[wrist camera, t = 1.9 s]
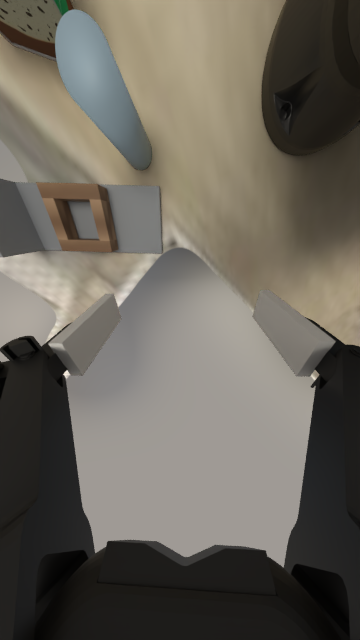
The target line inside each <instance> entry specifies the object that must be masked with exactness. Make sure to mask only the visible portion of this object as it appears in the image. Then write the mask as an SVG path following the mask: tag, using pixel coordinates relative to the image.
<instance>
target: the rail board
mask: <svg viewBox="0 0 360 640" xmlns="http://www.w3.org/2000/svg"><path fill="white" fill-rule="evenodd" d="M100 186H103V187H105V188H107V193H108V198H109V203H110V208H111V213H112V219H113V224H114V229H115V234H116V239H117V244H118V250H116V251H114V252H128V253H161V254H162V253H163V252H162V227H161V202H160V187H159V186H135V185H100ZM67 203H68V206H69V209H70V212H71V216H72V219H73V222H74V225H75V228H76V231H77V234H78V238H82V239H99V236H98V232H97V228H96V224H95V220H94V216H93V212H92V208H91V204H90V202H78V201H67ZM42 250H62V248H61V246H60V243H59V240H58V238H57V235H56V233H55V230H54V228H53V225H52V222H51V220H50V217H49V215H48V212H47V210H46V207H45V205H44V202H43V199H42V197H41V194H40V192H39V189H38V187H37V184H36V183H19V182H18V183H17V182H11V181H7V180H3V179H0V257H8V256H13V255H19V254H25V253H31V252H36V251H42Z"/></svg>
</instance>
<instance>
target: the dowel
mask: <svg viewBox="0 0 360 640" xmlns="http://www.w3.org/2000/svg"><path fill="white" fill-rule="evenodd" d="M55 52H56V60H57V64H58V68H59V72H60V75H61V78H62V80H63V83H64V85H65V87H66V89H67V91H68V92H69V94H70V96H71V97H72V98H73V100H74V101H75V102H76V103H77V104H78V105H79V106H80V108H81V109H82V110H83V111H84V112H85V113H86V114H87V115H88V117H89V118H90V119H91V120H92V121H93V122H94V123H95V124H96V126H97V127H98V128H99V129H100V130H101V131H102V132H103V134H104V135H105V136H106V137H107V138H108V139H109V140H110V141H111V143H112V144H113V145H114V146H115V147H116V148H117V149H118V150H119V152H120V153H121V154H122V155H123V156H124V157H125V158H126V159H127V161H128V162H129V163H130V164H131V165H132V166H133V167H134V168H135V169H137V170H144V169H146V168H147V167H148V166H149V164H150V162H151V159H152V148H151V144H150V142H149V139H148V137H147V135H146V132H145V130H144V128H143V125H142V123H141V120H140V118H139V116H138V113H137V111H136V109H135V106H134V104H133V102H132V99H131V97H130V94H129V92H128V90H127V87H126V85H125V83H124V80H123V78H122V76H121V73H120V71H119V68H118V66H117V64H116V61H115V59H114V57H113V54H112V52H111V50H110V47H109V45H108V42H107V40H106V38H105V36H104V34H103V32H102V30H101V29H100V27H99V26H98V24H97V23H96V22H95V21H94V20H93V18H91V17H90V16H89V15H88V14H86V13H85V12H83V11H80V10H76V9H75V10H70V11H68V12H66V13H65V14H64V15H63V16H62V17H61V19H60V21H59V23H58V26H57V30H56V37H55Z"/></svg>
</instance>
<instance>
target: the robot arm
mask: <svg viewBox="0 0 360 640" xmlns="http://www.w3.org/2000/svg"><path fill="white" fill-rule="evenodd" d="M262 108H263V115H264V121H265V125H266V128H267V130H268V133H269V135H270V137H271V139H272V140H273V142H274V143H275V144H276V145H277V146H278V147H279V148H280V149H281V150H283V151H284V152H286V153H288V154H292V155H307V154H311V153H314V152H317V151H319V150H321V149H323V148H325V147H327V146H329V145H330V144H332V143H334V142H336V141H337V140H339V139H341V138H342V137H344V136H345V135H346V134H348V133H349V132H350V131H352V130H353V129H354V128H355V127H356V126H358V125H359V124H360V0H286V2H285V4H284V6H283V9H282V11H281V13H280V16H279V18H278V21H277V24H276V26H275V29H274V32H273V35H272V38H271V42H270V45H269V49H268V53H267V57H266V62H265V68H264V75H263V84H262ZM253 318H254V319H255V321H256V322H257V323H258V325H259V326H260V327H261V329H262V330H263V332H264V333H265V334H266V336H267V337H268V338H269V340H270V341H271V342H272V343H273V345H274V346H275V348H276V349H277V351H278V352H279V353H280V354H281V356H282V357H283V358H284V360H285V361H286V363H287V364H288V366H289V367H290V368H291V370H292V371H293V372H294V374H295V375H296V376H310V375H311V374H312V373H313V371H314V370H316V371H317V372H318V373H319V374H320V375H319V376H318V378H317V379H316V380H315V381H314V383H313V384H312V386H311V387H312V388H313V387H314V386H316V388H315V396H314V403H313V411H312V418H311V425H310V434H309V440H308V448H307V455H306V463H305V470H304V477H303V485H302V492H301V500H300V507H299V514H298V519H297V522H296V524H295V526H294V528H293V529H292V531H291V534H290V537H289V541H288V545H287V551H286V558H285V565H284V568H283V567H282V566H281V565H279V564H278V563H276V562H275V561H274V560H272V559H271V558H269V557H267V554H266V551H265V550H259V549H254V548H249V547H241V546H223V545H214V546H212V547H210V548H208V549H205V550H203V551H201V552H199V553H197V554H195V555H192V556H190V557H183V556H181V555H180V554H178V553H176V552H174V551H173V550H171V549H169V548H168V547H166V546H164V545H163V544H161V543H159V542H157V541H140V540H120V541H108V542H107V546H106V547H105V548H103V549H102V550H100V551H99V552H97V553H95V550H94V543H93V537H92V532H91V527H90V524H89V521H88V519H87V517H86V515H85V513H84V511H83V508H82V502H81V494H80V486H79V478H78V471H77V464H76V455H75V448H74V440H73V432H72V425H71V417H70V409H69V401H68V393H67V386H66V378H65V376H64V375H63V374H64V372H65V371H66V370H68V372H69V373H70V374H71V375H74V376H78V375H79V376H82V375H84V373H85V372H86V370H87V369H88V367H89V366H90V364H91V363H92V361H93V360H94V359H95V357H96V356H97V354H98V353H99V351H100V350H101V348H102V347H103V345H104V344H105V342H106V341H107V339H108V338H109V337H110V335H111V334H112V332H113V331H114V329H115V328H116V326H117V325H118V323H119V322H120V320H121V315H120V312H119V309H118V306H117V303H116V300H115V296H114V294H105V295H104V296H102V297H101V298H100V299H99V300H98V301H97V302H95V303H94V304H93V305H92V306H91V307H90V308H88V309H87V310H86V311H85V312H84V313H83V314H82V315H80V316H79V317H78V318H77V319H76V320H75V321H73V322H72V323H70V324H68V325H67V326H65V327H64V328H63V329H62V331H59V332H58V333H57V334H56V335H55V336H54V337H52V338H51V339H50V340H49V341H48V342H46V343H45V344H44V345H43V346H42V347H41V346H40V345H39V343H38V342H37V341H36V339H35V338H34V337H33V336H24V337H20V338H18V339H14V340H12V341H10V342H8V343H7V344H5V345H4V346H2V347H1V349H0V351H1V352H2V353H3V354H4V355H5V356H6V357H7V358H8V359H9V360H10V361H6V362H1V361H0V640H360V347H359V346H355V345H345V344H344V343H342V342H341V341H340V340H338V339H337V338H336V337H334V336H333V335H332V334H330V333H329V332H328V331H326V330H325V329H324V328H322V327H320V325H318V324H317V323H316V322H314V321H313V320H310V319H308V318H306V317H304V316H303V315H301V314H300V313H299V312H297V311H296V310H295V309H293V308H292V307H291V306H290V305H288V304H287V303H286V302H284V301H283V300H282V299H280V298H279V297H278V296H277V295H275V294H274V293H273V292H271V291H270V290H260V293H259V296H258V300H257V303H256V307H255V310H254V314H253Z"/></svg>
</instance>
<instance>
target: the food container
mask: <svg viewBox="0 0 360 640" xmlns="http://www.w3.org/2000/svg"><path fill="white" fill-rule="evenodd" d="M70 10H74V9H73V7H72V4H71V2H70V0H0V34H1V35H2V36H3V37H4V38H5V39H6V40H7V41H8V42H9V43H10V44H11V45H13V46H15V47H18V48H20V49H23V50H26V51H29V52H31V53H34V54H37V55H40V56H42V57H45V58H48V59H50V60H53V61H56V62H57V60H56V52H55V37H56V30H57V26H58V23H59V21H60V19H61V17H62V16H63V15H64V14H65V13H66V12H68V11H70Z"/></svg>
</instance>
